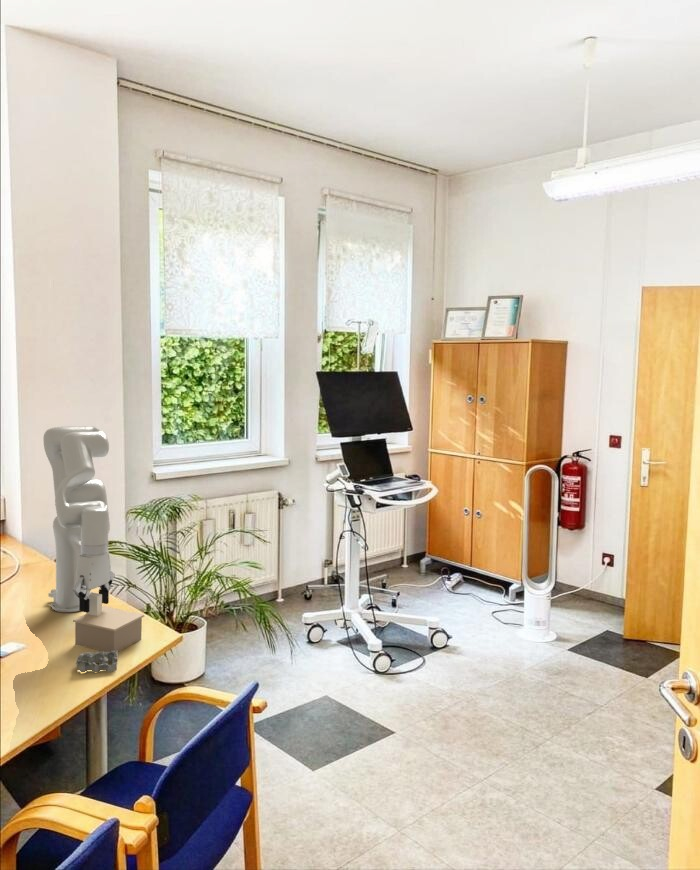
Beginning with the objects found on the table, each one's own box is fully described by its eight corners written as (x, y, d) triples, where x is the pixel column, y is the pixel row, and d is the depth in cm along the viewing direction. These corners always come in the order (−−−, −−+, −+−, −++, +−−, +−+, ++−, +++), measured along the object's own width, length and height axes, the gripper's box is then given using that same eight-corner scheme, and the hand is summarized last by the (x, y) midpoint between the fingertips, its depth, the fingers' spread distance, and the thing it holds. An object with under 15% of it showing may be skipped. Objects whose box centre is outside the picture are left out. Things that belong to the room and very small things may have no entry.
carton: (75, 644, 206) (75, 622, 205) (103, 630, 217) (104, 609, 216) (114, 654, 200) (114, 631, 200) (141, 639, 212) (141, 617, 211)
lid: (72, 621, 205) (72, 599, 204) (103, 607, 217) (104, 586, 216) (114, 631, 199) (114, 608, 198) (144, 616, 211) (144, 595, 210)
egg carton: (74, 676, 187) (74, 661, 186) (78, 663, 194) (78, 649, 194) (116, 673, 189) (116, 659, 189) (119, 661, 197) (119, 647, 196)
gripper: (104, 540, 217) (104, 596, 219) (62, 554, 201) (62, 614, 203) (124, 543, 214) (124, 600, 216) (83, 558, 198) (83, 619, 200)
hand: (94, 606), depth 209 cm, fingers open, 7 cm apart
